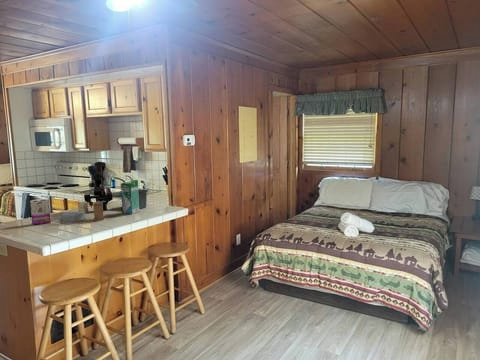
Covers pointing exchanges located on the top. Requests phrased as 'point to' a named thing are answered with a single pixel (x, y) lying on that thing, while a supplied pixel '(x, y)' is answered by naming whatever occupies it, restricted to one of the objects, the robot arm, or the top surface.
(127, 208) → the milk carton
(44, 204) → the candy bar box
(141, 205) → the storage bin
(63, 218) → the base block
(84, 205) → the birch block
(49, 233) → the top surface
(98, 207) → the walnut block
